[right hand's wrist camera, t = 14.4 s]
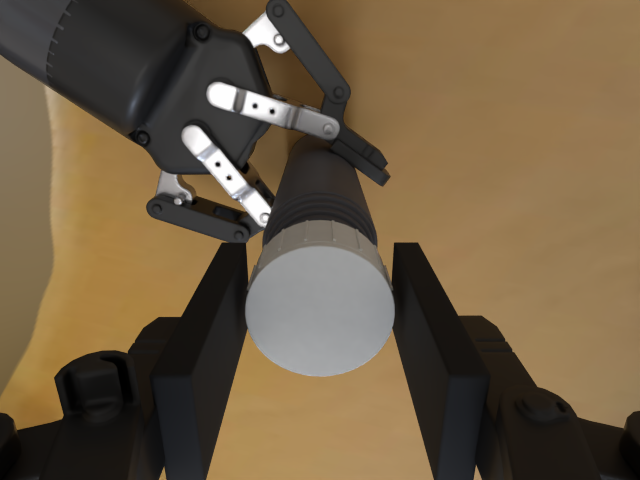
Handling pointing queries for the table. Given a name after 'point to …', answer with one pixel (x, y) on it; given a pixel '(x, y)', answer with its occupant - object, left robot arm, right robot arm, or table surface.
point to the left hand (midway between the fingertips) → (357, 211)
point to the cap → (319, 299)
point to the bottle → (318, 191)
